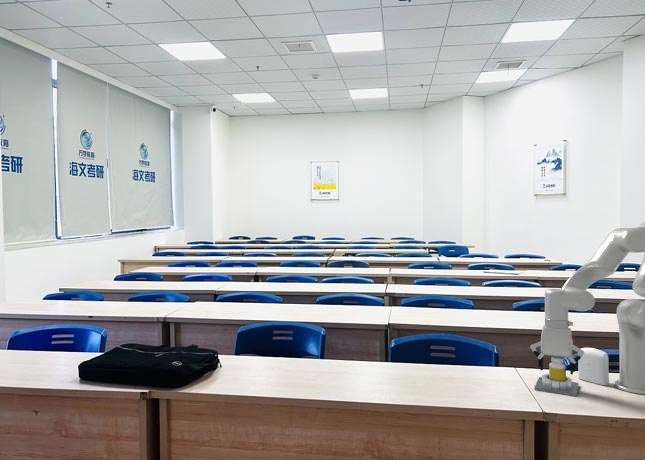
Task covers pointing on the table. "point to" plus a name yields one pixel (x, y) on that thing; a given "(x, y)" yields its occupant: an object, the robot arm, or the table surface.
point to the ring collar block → (557, 386)
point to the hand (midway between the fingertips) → (556, 371)
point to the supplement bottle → (557, 369)
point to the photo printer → (594, 366)
